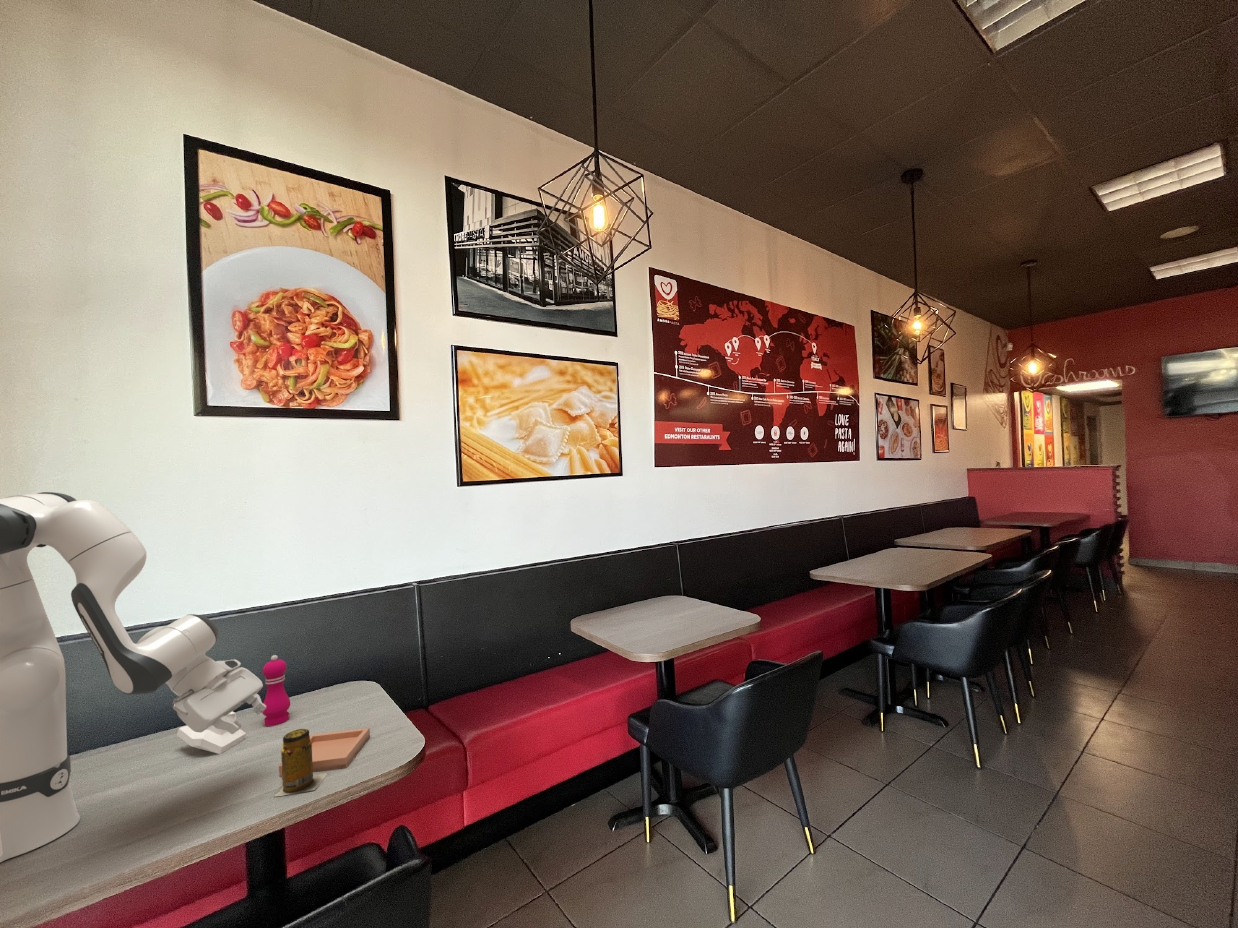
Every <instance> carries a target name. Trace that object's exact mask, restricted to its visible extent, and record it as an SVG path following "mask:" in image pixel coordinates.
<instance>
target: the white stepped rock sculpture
mask: <svg viewBox="0 0 1238 928" xmlns="http://www.w3.org/2000/svg"><path fill="white" fill-rule="evenodd" d="M226 717H227V718H226V719H227V720H229V721H232V722H233V723H234V722H235V721H237V713H236V712H234V710H233V711H232V712H231V713H229V714H228V715H226ZM246 735H247V733H246V732H245V731H243V730H242V729H241V728H240V729H239V730H238V731H237V732H235V733H234V734H231V733H229V732H228V731H227V730H222V729H217V728H215V727H214V726H213V725H212V726H210V727H209V728H207V729H206V730H204V731H203V732H201V733H199V732H195V731H193V730H192V729H191V728H189V727H188V726H187V725H184V726H181V727H179V728H178V730H177V734H176V736H177V737H179V738H180V739H181V740H183V741H184V742H185V743H186V744H187V745H189V746H190V747H193V748H197V749H199V750H203V751H206V752H211V753H213V754H218V755H221V754H222V753H224V752H226V751H227V750H230V749H231V748H232V747H235V746H236V745H238V744H240V743H241V742H243V741H245V738H246Z"/></svg>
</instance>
